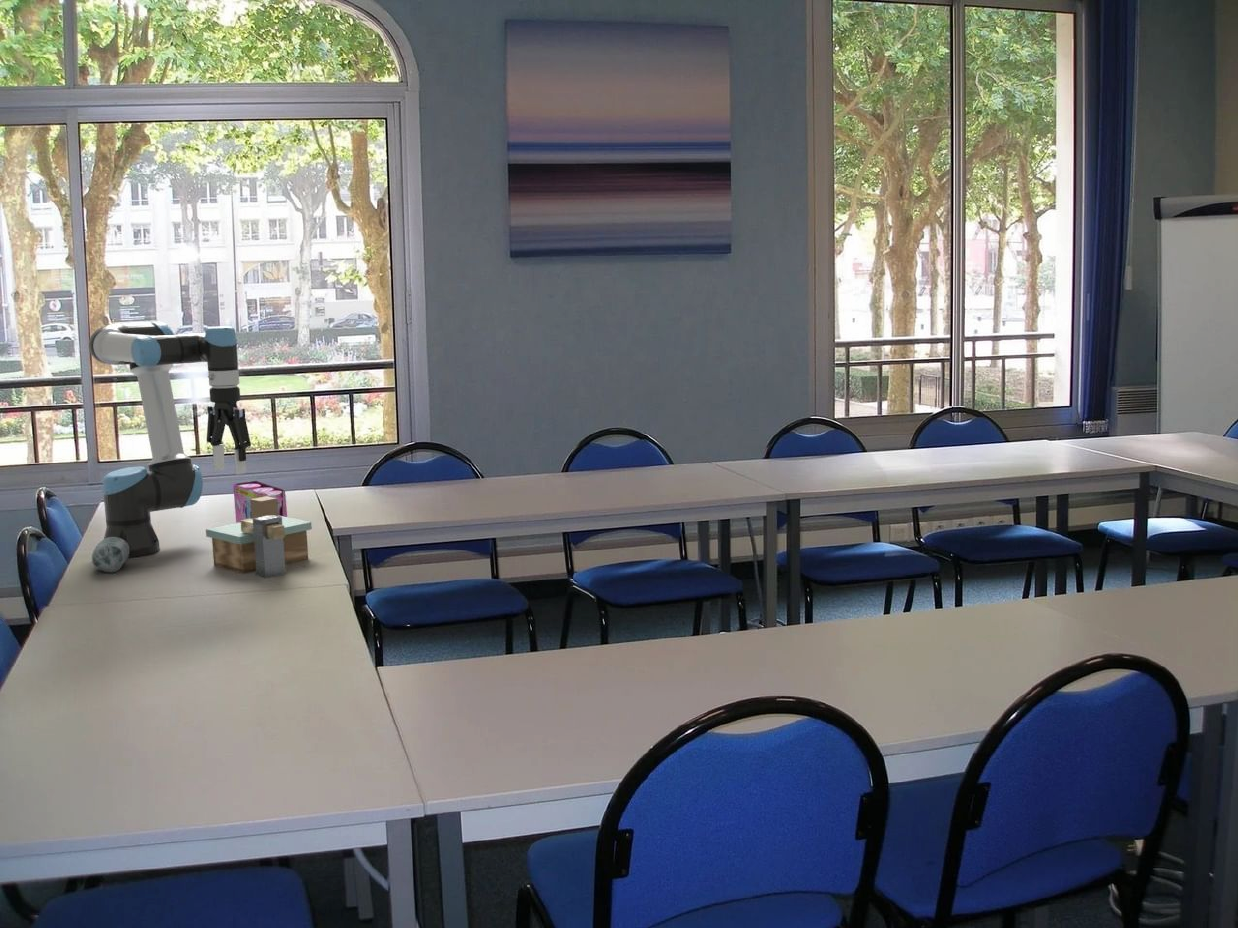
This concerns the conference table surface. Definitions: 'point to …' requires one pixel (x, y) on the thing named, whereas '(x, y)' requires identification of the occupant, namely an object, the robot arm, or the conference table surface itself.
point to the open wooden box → (244, 554)
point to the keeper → (268, 548)
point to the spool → (110, 554)
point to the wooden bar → (271, 529)
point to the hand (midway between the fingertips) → (230, 471)
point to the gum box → (256, 490)
